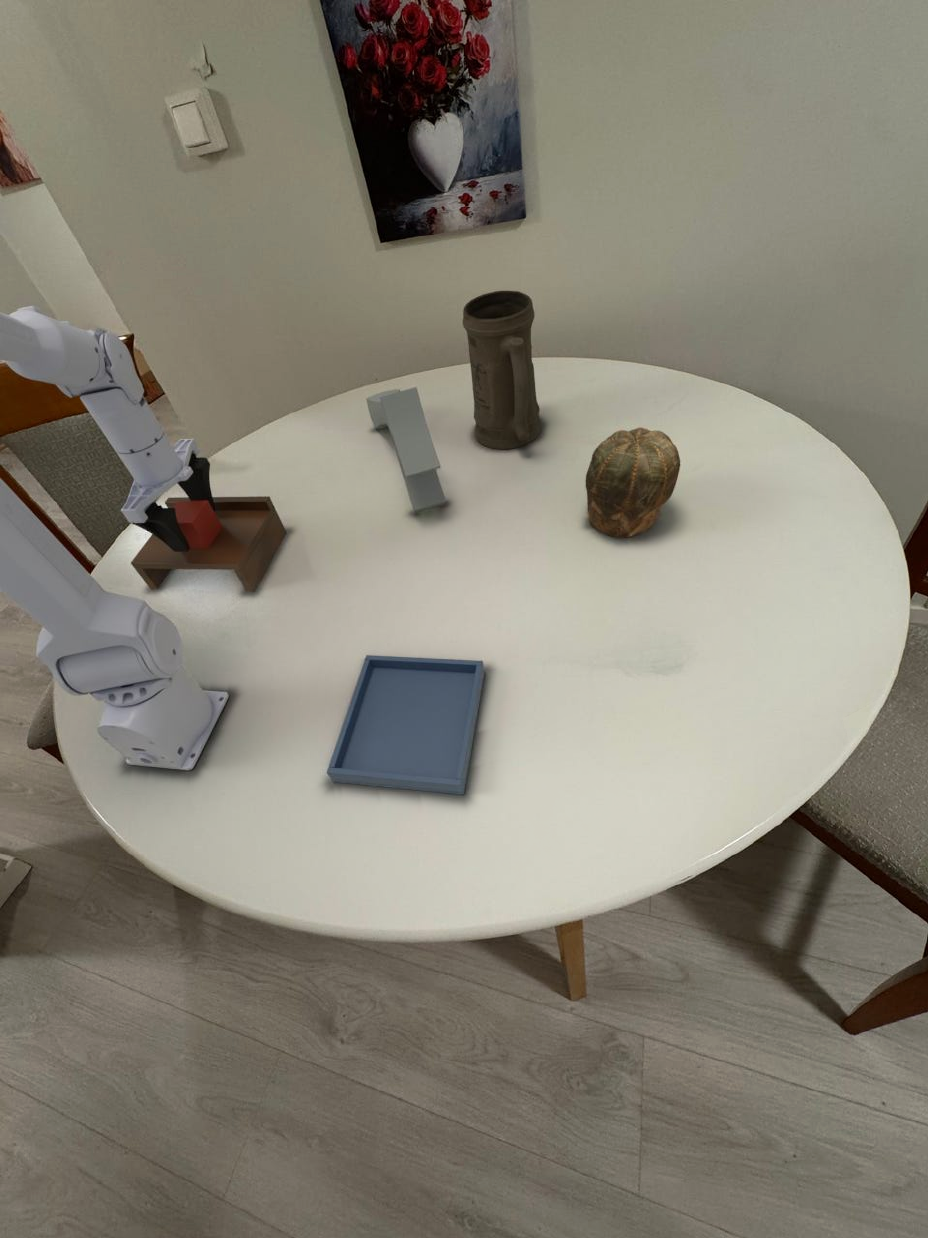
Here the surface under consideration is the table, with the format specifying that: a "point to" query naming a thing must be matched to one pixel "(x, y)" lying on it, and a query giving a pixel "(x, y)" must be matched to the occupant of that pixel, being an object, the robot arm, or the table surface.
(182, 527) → the block
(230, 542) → the shelf
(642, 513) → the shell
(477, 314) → the beer stein
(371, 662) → the tray
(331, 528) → the table surface
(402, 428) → the faucet
